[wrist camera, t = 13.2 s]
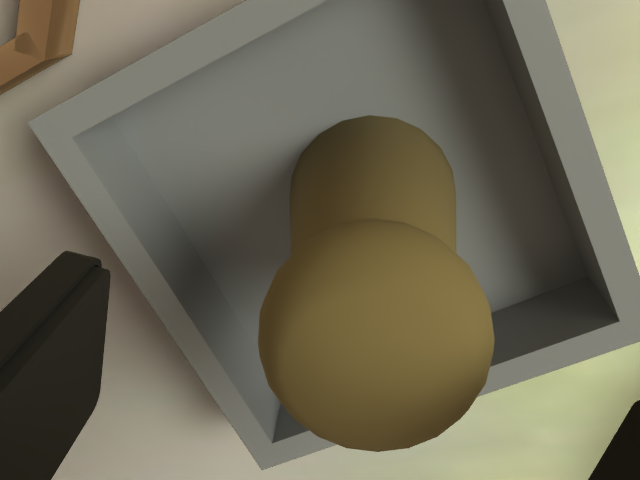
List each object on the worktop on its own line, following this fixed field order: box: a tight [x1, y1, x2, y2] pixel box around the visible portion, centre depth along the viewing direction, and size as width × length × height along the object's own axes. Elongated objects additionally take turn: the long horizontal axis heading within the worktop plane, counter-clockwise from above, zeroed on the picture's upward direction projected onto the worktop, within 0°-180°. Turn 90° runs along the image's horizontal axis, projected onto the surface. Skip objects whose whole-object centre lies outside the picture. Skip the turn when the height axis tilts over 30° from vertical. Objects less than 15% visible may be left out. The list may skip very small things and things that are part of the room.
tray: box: [27, 0, 640, 470], centre depth 21 cm, size 15×15×4 cm
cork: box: [258, 115, 495, 452], centre depth 17 cm, size 6×6×11 cm
